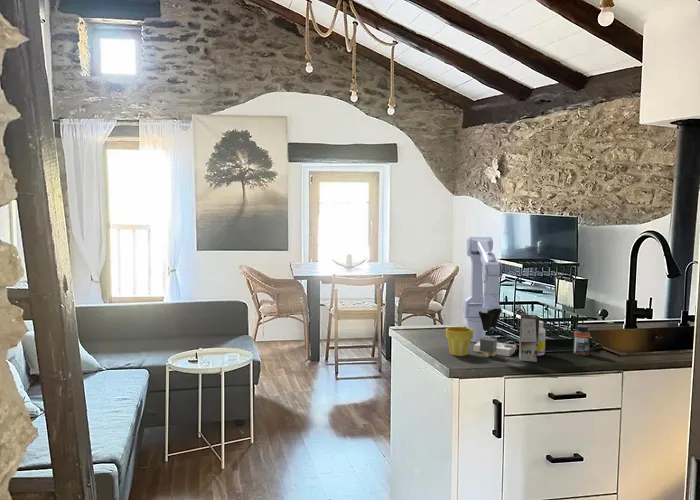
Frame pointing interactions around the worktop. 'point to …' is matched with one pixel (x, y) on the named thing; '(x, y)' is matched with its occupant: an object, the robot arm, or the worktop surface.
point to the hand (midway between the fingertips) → (489, 329)
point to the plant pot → (459, 340)
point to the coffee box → (528, 338)
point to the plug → (488, 346)
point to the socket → (499, 349)
